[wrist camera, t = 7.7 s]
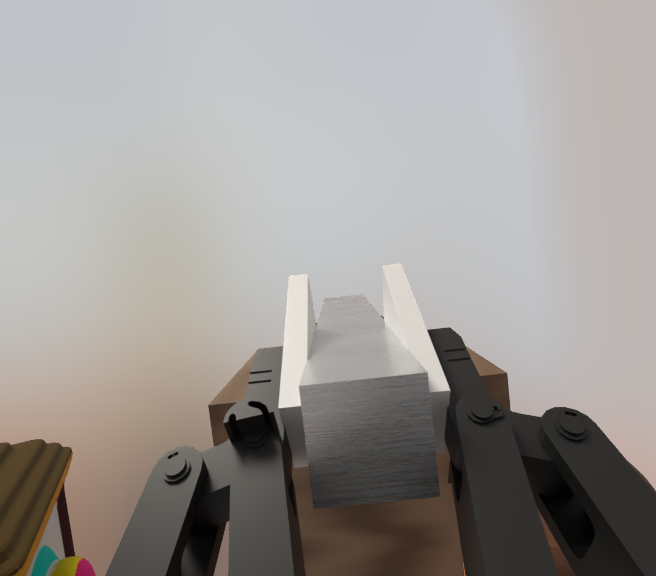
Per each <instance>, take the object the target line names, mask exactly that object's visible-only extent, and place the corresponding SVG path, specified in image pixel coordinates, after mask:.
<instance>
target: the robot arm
mask: <svg viewBox="0 0 656 576" xmlns="http://www.w3.org/2000/svg"><path fill="white" fill-rule="evenodd" d="M382 276H383V302H384V321H385V322H386V324H387V325H388V326H389V327H390V329H391V330H392V331H393V332H394V333H395V335H396V336H397V337H398V338H399V339H400V341H401V342H402V343H403V344H404V346H405V347H406V348H407V349H409V351H410V352H411V353H412V354H413V355H414V357H415V358H416V359H417V360H418V361H419V363H420V364H421V365H422V366H423V367H424V369H425V370H426V371H427V372H428V380H429V391H430V401H431V411H432V421H433V431H434V441H435V451H436V454H438V453H445V443H446V446H447V449H448V452H449V455H450V464H449V473H448V483H450V484H452V490H453V496H454V503H455V509H456V516H457V523H458V529H459V536H460V542H461V549H462V556H463V562H464V569H465V575H466V576H559V575H558V571H557V568H556V565H555V562H554V559H553V556H552V553H551V549H550V546H549V543H548V540H547V537H546V534H545V531H544V528H543V524H542V521H541V518H540V515H539V512H540V514H541V515H542V517H543V519H544V521H545V522H546V524H547V526H548V528H549V530H550V531H551V533H552V535H553V537H554V538H555V540H556V542H557V544H558V545H559V547H560V549H561V551H562V552H563V554H564V556H565V558H566V560H567V561H568V563H569V565H570V567H571V568H572V570H573V572H574V574H575V575H576V576H656V495H655V493H654V492H653V491H652V490H651V489H650V488H649V486H648V485H647V484H646V483H645V482H644V480H643V479H642V478H641V477H640V476H639V474H638V473H637V472H636V471H635V470H634V468H633V467H632V466H631V465H630V464H629V463H628V461H627V460H626V459H625V458H624V457H623V455H622V454H621V453H620V452H619V451H618V449H617V448H616V447H615V446H614V445H613V443H612V442H611V441H610V440H609V439H608V438H607V436H606V435H605V434H604V433H603V432H602V430H601V429H600V428H599V427H598V426H597V424H596V423H595V422H593V421H592V420H591V419H590V418H589V417H588V416H587V415H585V414H583V413H581V412H579V411H577V410H574V409H570V408H566V407H554V408H552V409H549V410H547V411H546V412H545V413H544V414H543V416H542V417H536V416H531V415H525V414H519V413H515V412H512V411H509V410H507V409H505V408H504V407H503V406H502V405H501V404H500V403H499V402H497V401H496V400H495V399H493V398H491V396H490V395H489V393H488V391H487V389H486V387H485V385H484V383H483V381H482V379H481V377H480V375H479V373H478V371H477V369H476V367H475V365H474V363H473V361H472V360H471V356H470V354H469V352H468V350H467V349H466V346H465V344H464V342H463V340H462V338H461V336H459V335H458V334H457V333H456V332H455V331H453V330H452V329H451V328H440V329H431V330H427V329H426V326H425V324H424V321H423V318H422V316H421V313H420V311H419V308H418V306H417V303H416V300H415V298H414V295H413V293H412V290H411V288H410V285H409V282H408V280H407V278H406V275H405V272H404V270H403V267H402V264H401V263H400V264H391V265H382ZM288 284H289V285H288V296H287V308H286V320H285V332H284V345H283V347H274V348H265V349H259V351H258V352H257V354H256V355H255V357H254V358H253V360H252V363H251V369H250V375H249V381H248V386H247V392H246V398H245V399H244V400H241V401H239V402H237V403H236V404H235V405H233V406H232V407H231V408H230V409H229V411H228V412H227V413H226V415H225V418H224V422H223V424H224V426H225V429H226V431H227V434H228V436H229V439H228V440H227V441H226V442H224V443H222V444H220V445H218V446H216V447H214V448H211V449H208V450H206V451H203V452H201V453H200V452H199V451H198V450H196V449H195V448H193V447H188V446H184V447H179V448H175V449H173V450H171V451H170V452H168V453H166V454H165V455H164V456H163V457H162V458H161V459H159V460H158V462H157V463H156V465H155V466H154V468H153V470H152V472H151V474H150V477H149V479H148V481H147V483H146V485H145V488H144V490H143V492H142V495H141V497H140V499H139V501H138V504H137V506H136V508H135V510H134V513H133V515H132V517H131V519H130V521H129V524H128V526H127V528H126V530H125V533H124V535H123V537H122V540H121V542H120V544H119V546H118V549H117V551H116V553H115V555H114V558H113V560H112V562H111V564H110V566H109V569H108V571H107V573H106V576H213V575H214V571H215V567H216V563H217V559H218V554H219V551H220V546H221V543H222V539H223V534H224V531H225V526H226V522H228V521H229V574H228V576H306V574H305V566H304V558H303V550H302V542H301V534H300V526H299V518H298V510H297V502H296V494H295V486H294V482H293V478H292V461H293V464H294V468H299V467H308V458H307V450H306V442H305V434H304V425H303V417H302V409H301V400H300V392H299V384H300V380H301V377H302V374H303V370H304V367H305V364H306V360H307V359H308V356H309V353H310V349H311V346H312V342H313V339H314V335H315V332H316V322H315V316H314V310H313V303H312V297H311V291H310V285H309V278H308V274H303V275H294V276H289V283H288ZM537 508H538V509H537ZM538 510H539V512H538Z"/></svg>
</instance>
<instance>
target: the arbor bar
mask: <svg viewBox="0 0 656 576" xmlns="http://www.w3.org/2000/svg"><path fill="white" fill-rule="evenodd" d="M299 392H300V400H301V409H302V417H303V425H304V434H305V442H306V450H307V458H308V467H309V475H310V483H311V491H312V500H313V508H314V509H321V508H332V507H342V506H352V505H363V504H373V503H383V502H394V501H404V500H414V499H424V498H435V497H440V491H439V481H438V471H437V461H436V451H435V441H434V431H433V421H432V411H431V401H430V391H429V380H428V372H427V371H426V370H425V369H424V367H423V366H422V365H421V364H420V363H419V361H418V360H417V359H416V358H415V357H414V355H413V354H412V353H411V352H410V351H409V349H407V348H406V347H405V346H404V344H403V343H402V342H401V341H400V339H399V338H398V337H397V336H396V335H395V333H394V332H393V331H392V330H391V329H390V327H389V326H388V325H387V324H386V322H385V321H384V319H383V318H382V317H381V316H380V315H379V313H378V312H377V311H376V310H375V309H374V307H373V306H372V305H371V304H370V303H369V302H368V300H367V299H366V298H365V297H364V296H363V295H353V296H344V297H335V298H326V299H325V300H324V304H323V307H322V310H321V314H320V317H319V321H318V324H317V327H316V332H315V335H314V339H313V342H312V346H311V349H310V353H309V356H308V359H307V360H306V364H305V367H304V370H303V374H302V377H301V380H300V384H299Z"/></svg>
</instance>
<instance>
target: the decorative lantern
mask: <svg viewBox="0 0 656 576" xmlns="http://www.w3.org/2000/svg"><path fill="white" fill-rule="evenodd" d="M71 459H72V449H71V448H70V447H62V446H61V444H59V443H49V444H47V443H46V442H45V441H44V440H42V439H36V440H30V441H26V442H22V443H18V444H14V445H10V444H9V443H0V576H96V575H95V572H94V570H93V567H92V566H91V564H90V563H89V561H87V560H86V559H85V558H82V557H78V556H75V552H74V546H73V540H72V535H71V528H70V522H69V516H68V510H67V504H66V497H65V492H64V481H65V478H66V476H67V473H68V470H69V467H70V463H71Z"/></svg>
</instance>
